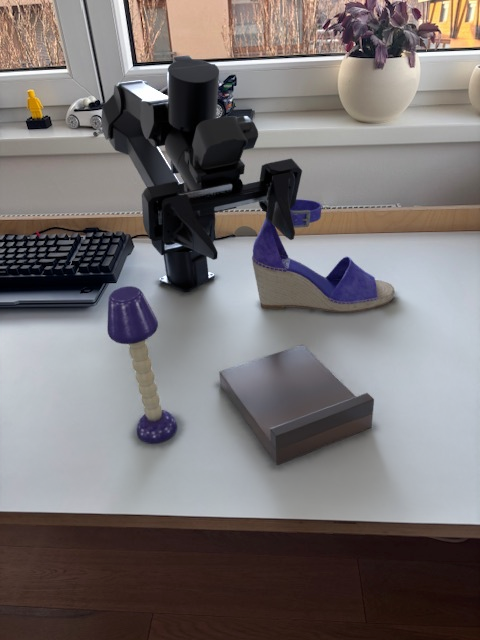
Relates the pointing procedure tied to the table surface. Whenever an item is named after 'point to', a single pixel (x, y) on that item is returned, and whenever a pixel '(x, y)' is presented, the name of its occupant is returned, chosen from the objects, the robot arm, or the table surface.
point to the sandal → (311, 274)
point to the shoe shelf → (295, 403)
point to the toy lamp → (140, 358)
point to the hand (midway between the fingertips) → (255, 246)
